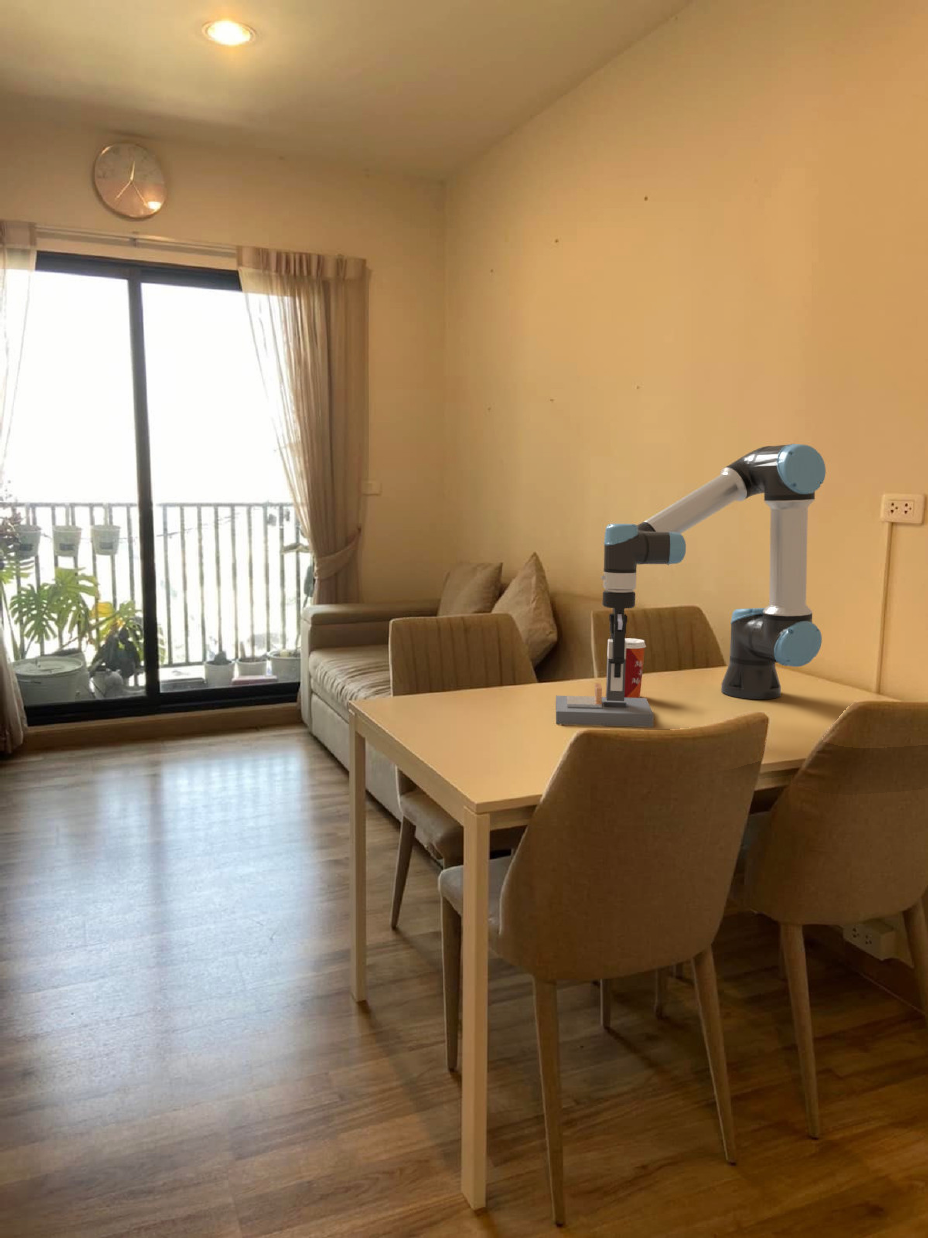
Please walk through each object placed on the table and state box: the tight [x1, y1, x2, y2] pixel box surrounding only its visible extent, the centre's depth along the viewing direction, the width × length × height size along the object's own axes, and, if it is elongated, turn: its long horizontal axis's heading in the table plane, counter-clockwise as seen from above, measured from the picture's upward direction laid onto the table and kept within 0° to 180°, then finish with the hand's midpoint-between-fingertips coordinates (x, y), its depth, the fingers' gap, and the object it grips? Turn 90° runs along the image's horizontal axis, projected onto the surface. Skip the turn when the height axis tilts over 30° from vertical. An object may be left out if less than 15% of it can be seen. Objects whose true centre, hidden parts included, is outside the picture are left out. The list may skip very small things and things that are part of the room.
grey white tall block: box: [605, 638, 626, 701], centre depth 210 cm, size 4×4×14 cm
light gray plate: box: [565, 682, 603, 708], centre depth 212 cm, size 8×8×4 cm
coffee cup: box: [624, 637, 647, 698], centre depth 232 cm, size 8×8×15 cm
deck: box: [555, 695, 654, 728], centre depth 212 cm, size 22×16×3 cm
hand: (615, 688), depth 211 cm, fingers closed on grey white tall block, 4 cm apart
